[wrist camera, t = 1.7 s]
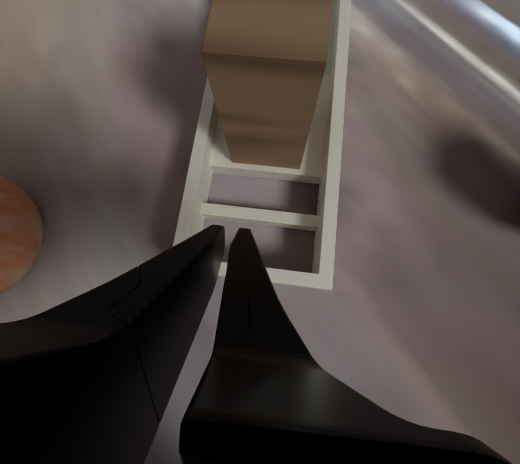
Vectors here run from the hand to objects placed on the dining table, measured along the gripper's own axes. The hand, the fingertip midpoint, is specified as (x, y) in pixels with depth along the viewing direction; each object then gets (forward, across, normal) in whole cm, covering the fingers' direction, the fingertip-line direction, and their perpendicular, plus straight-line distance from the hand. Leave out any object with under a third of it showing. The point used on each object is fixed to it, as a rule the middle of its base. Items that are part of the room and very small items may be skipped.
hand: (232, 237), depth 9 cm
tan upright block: (+18, 0, -1) cm, 18 cm away
